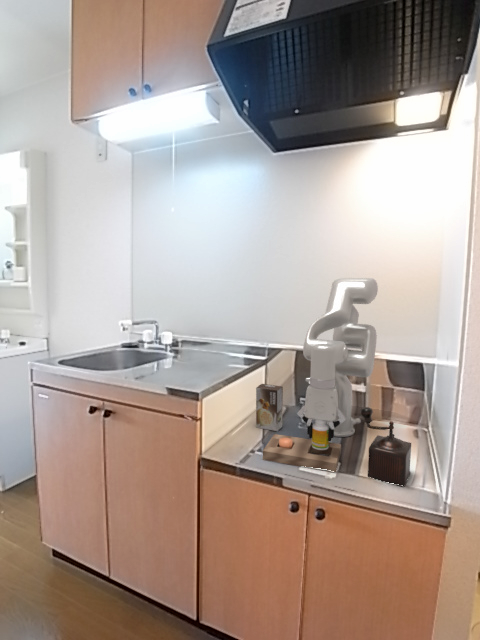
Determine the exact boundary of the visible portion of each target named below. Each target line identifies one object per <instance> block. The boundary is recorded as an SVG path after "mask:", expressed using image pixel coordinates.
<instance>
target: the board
mask: <svg viewBox="0 0 480 640" xmlns="http://www.w3.org/2000/svg"><path fill="white" fill-rule="evenodd" d="M280 438H290V439H292V440H293V444H292V449H288V448H282V447H279V439H280ZM341 454H342V444H341V443H335V442H330V441H329V447H328V449H326V450H317V449H314V448H313V447H312V438H311V439H310V438H303V437H296V436H291V435H285V434H284V435H283V434H276V433H274V434H273V435H272V437H271V438H270V440H269V441H268V443H267V444H266V445H265V447H264V449H263V450H262V460H263V461H268V462H273V463H278V464H283V465H291V466H296V467H301V466H304V467H303V468H306V467H313V468H321V469H327V470H331V471H334V472H336V473H337V471H336V470H338V467H337V466H339V461H340V457H341ZM305 466H306V467H305ZM334 472H333V473H334Z"/></svg>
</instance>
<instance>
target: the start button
mask: <svg viewBox="0 0 480 640" xmlns="http://www.w3.org/2000/svg"><path fill="white" fill-rule="evenodd" d="M292 444H293V440H292V439H290V438H280V439H279V447H282V448H288V449H292Z"/></svg>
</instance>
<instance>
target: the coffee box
mask: <svg viewBox="0 0 480 640" xmlns="http://www.w3.org/2000/svg"><path fill="white" fill-rule="evenodd" d="M283 393H284V392H283V385H282V386H281V385H274V384H267V383H260V384H259V385H258V386H256V388H255V397H256V399H255V401H256V403H255V408H256V409H255V411H256V412H255V414H256V415H255V417H256V418H255V419H256V420H255V427H256V428H258V429H262V430H263V429H264V430H269V431H274V432H278V431H279V430H280V429H281V428H282V427H283V399H284V398H283Z"/></svg>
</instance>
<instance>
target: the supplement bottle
mask: <svg viewBox="0 0 480 640" xmlns="http://www.w3.org/2000/svg"><path fill="white" fill-rule="evenodd" d="M312 423H313V425H312V438H311V440H312V447H313V448H314V449H317V450H326V449H328V447H329V442H330V441H328V437H329V425H328V424H327V421H323V420H315V419H314V422H312Z"/></svg>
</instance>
